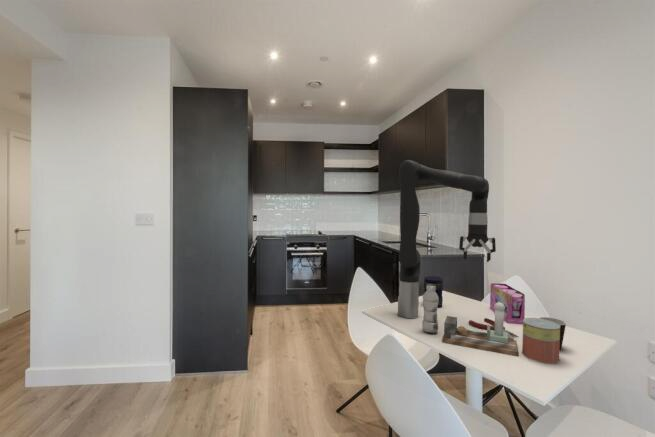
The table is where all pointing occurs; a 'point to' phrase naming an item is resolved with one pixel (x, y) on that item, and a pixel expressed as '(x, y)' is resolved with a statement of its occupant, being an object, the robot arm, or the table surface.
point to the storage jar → (439, 286)
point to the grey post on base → (498, 326)
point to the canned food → (541, 340)
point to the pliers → (484, 327)
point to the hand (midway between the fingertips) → (476, 260)
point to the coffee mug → (562, 328)
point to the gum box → (508, 302)
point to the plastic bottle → (430, 309)
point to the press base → (475, 339)
